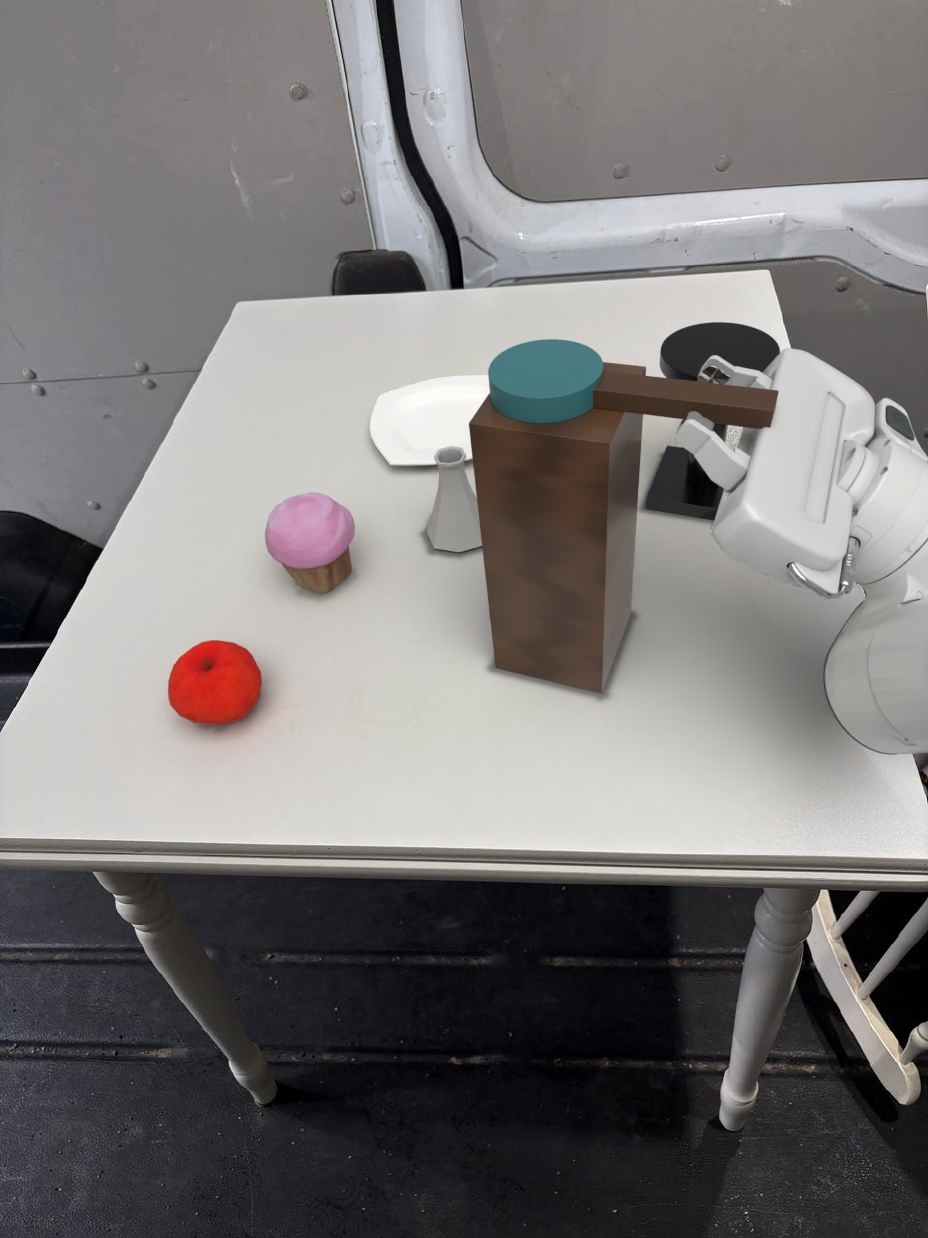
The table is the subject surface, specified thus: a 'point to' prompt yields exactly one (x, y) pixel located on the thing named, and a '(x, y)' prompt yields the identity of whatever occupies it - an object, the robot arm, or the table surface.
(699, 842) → the table surface
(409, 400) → the plate
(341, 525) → the cupcake
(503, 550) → the pedestal
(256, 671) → the apple
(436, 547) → the flask
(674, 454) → the display stand
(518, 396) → the disc paddle
